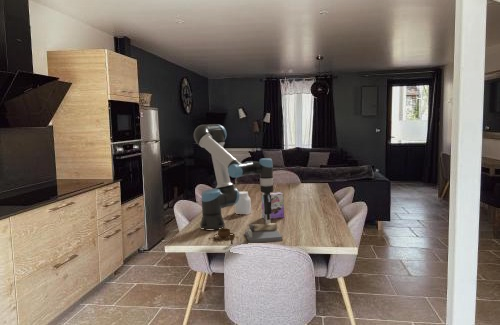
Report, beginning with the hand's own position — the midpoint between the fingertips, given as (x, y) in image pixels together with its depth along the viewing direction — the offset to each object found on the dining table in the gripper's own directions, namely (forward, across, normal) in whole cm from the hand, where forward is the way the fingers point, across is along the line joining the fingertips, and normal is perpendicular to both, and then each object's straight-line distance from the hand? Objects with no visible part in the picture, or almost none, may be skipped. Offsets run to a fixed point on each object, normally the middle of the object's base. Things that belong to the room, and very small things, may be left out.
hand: (268, 224), depth 221 cm
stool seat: (+4, -11, +5) cm, 12 cm away
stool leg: (+2, -4, +4) cm, 6 cm away
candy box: (+4, +30, -9) cm, 31 cm away
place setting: (+5, -10, +27) cm, 29 cm away
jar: (+4, +48, +9) cm, 49 cm away
